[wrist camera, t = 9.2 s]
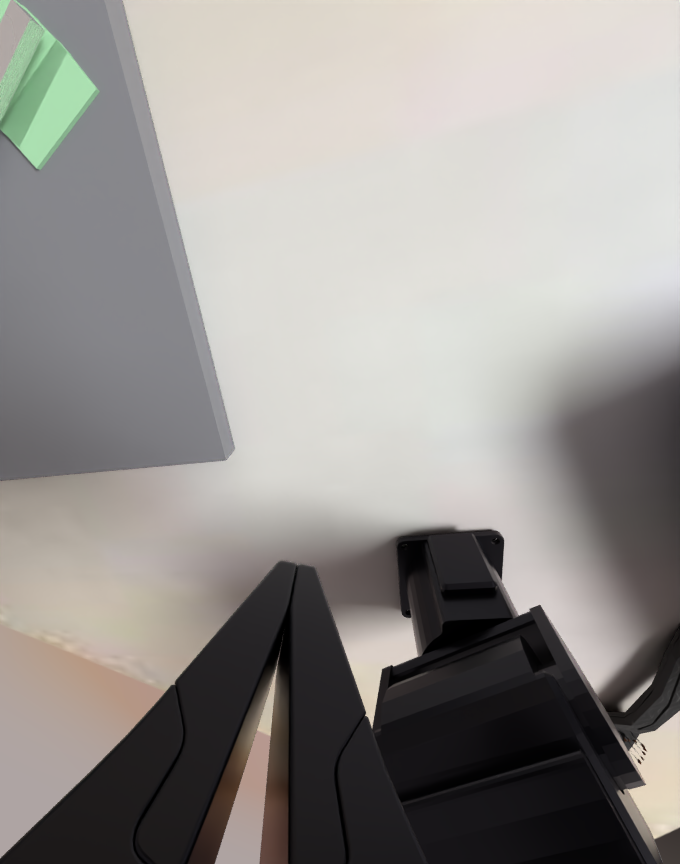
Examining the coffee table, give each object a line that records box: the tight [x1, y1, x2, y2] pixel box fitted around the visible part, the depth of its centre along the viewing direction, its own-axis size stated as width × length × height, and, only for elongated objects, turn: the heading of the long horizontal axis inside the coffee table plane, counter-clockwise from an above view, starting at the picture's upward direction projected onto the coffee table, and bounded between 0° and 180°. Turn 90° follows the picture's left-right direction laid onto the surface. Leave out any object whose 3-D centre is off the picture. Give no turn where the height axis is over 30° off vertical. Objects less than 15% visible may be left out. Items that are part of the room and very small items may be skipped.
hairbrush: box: [607, 627, 680, 764], centre depth 27 cm, size 8×4×25 cm
